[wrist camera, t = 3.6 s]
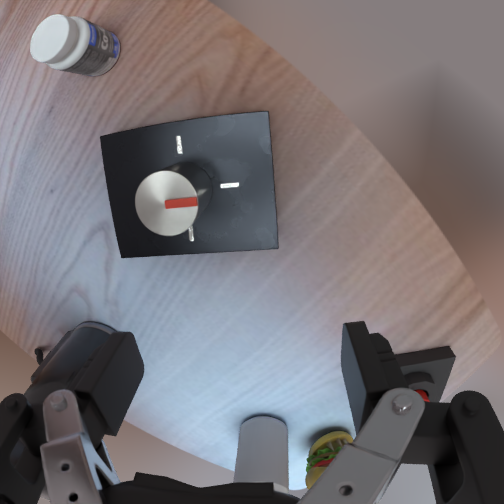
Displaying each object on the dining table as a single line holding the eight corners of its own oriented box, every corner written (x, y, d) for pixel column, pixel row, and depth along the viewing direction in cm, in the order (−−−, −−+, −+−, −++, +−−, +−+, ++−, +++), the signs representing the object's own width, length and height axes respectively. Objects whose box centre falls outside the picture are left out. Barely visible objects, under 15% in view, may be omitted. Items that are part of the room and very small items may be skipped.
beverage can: (252, 443, 41) (247, 513, 30) (231, 418, 39) (220, 494, 28) (294, 433, 39) (296, 507, 28) (276, 407, 37) (275, 488, 26)
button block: (358, 408, 37) (363, 431, 33) (367, 358, 34) (375, 381, 30) (432, 396, 36) (441, 416, 32) (449, 345, 33) (462, 365, 29)
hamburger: (356, 445, 40) (367, 511, 29) (309, 456, 42) (313, 522, 30) (349, 418, 38) (362, 492, 27) (297, 430, 39) (300, 504, 28)
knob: (163, 218, 26) (139, 239, 21) (155, 165, 24) (128, 176, 19) (215, 213, 26) (201, 235, 21) (209, 159, 24) (192, 167, 19)
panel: (133, 246, 30) (120, 259, 27) (115, 134, 26) (98, 136, 24) (278, 237, 29) (278, 249, 26) (268, 112, 25) (268, 110, 22)
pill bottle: (130, 51, 24) (83, 31, 16) (94, 86, 25) (40, 79, 17) (106, 22, 22) (57, -2, 14) (72, 56, 23) (18, 44, 16)
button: (395, 411, 32) (398, 422, 31) (401, 391, 31) (405, 402, 29) (421, 406, 32) (425, 416, 30) (429, 386, 31) (433, 396, 29)
